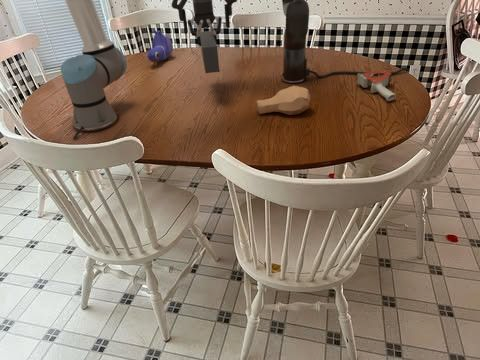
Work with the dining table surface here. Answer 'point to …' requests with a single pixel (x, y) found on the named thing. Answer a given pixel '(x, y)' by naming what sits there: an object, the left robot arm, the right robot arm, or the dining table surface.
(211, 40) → the bar
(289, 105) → the squash
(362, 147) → the dining table surface
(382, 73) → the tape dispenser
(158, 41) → the toy
